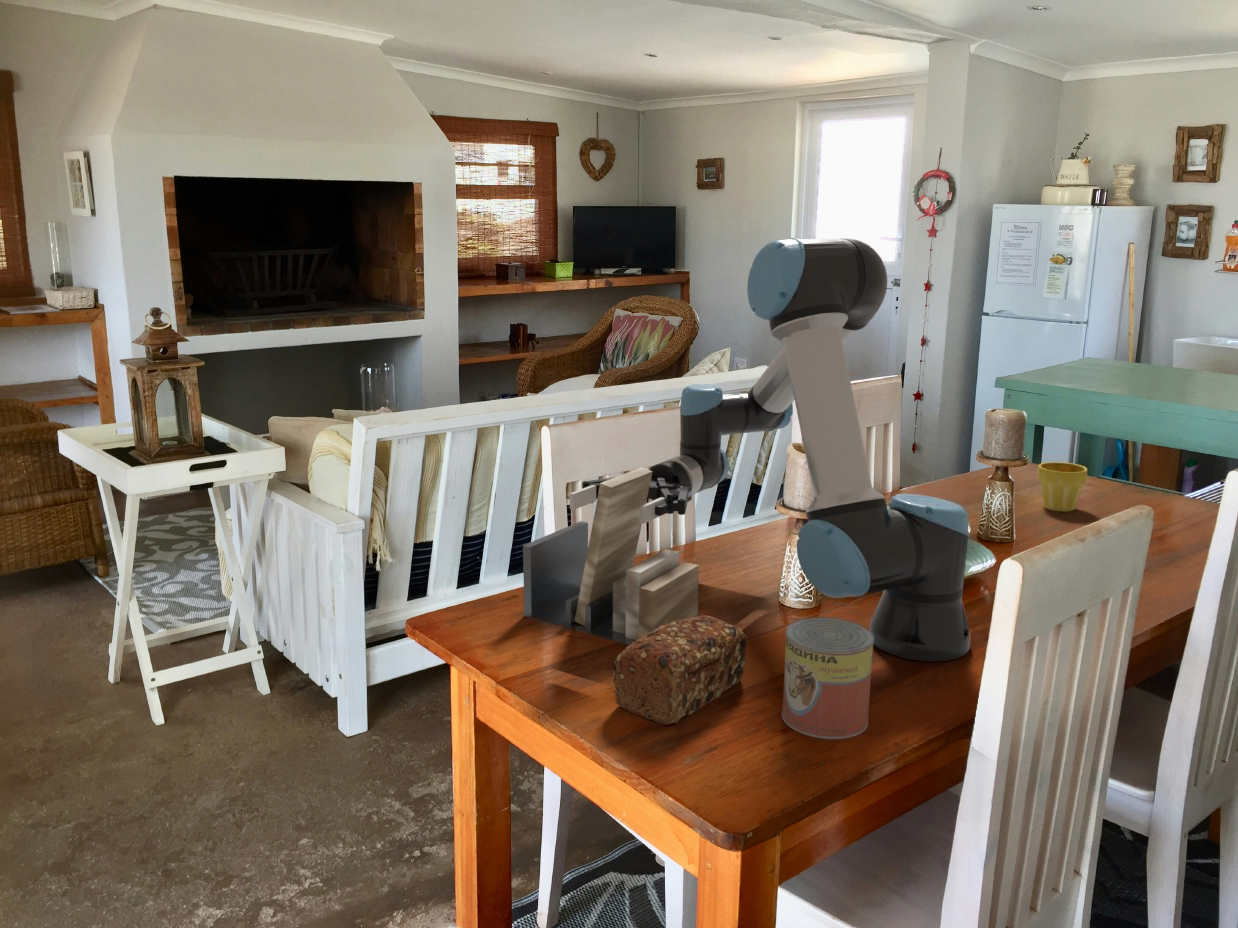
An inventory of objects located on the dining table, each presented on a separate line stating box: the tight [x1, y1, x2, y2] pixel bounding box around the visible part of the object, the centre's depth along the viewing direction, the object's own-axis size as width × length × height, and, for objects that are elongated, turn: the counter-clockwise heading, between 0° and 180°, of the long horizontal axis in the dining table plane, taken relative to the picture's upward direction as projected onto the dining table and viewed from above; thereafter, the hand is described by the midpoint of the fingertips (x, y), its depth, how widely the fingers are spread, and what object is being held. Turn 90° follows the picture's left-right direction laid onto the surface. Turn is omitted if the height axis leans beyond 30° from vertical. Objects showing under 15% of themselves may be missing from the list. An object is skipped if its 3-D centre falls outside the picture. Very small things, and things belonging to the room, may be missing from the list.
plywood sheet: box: [575, 467, 653, 626], centre depth 160 cm, size 2×12×24 cm, turn 147°
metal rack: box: [522, 521, 636, 646], centre depth 162 cm, size 25×16×14 cm, turn 57°
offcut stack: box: [613, 548, 700, 640], centre depth 158 cm, size 8×14×11 cm, turn 147°
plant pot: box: [1037, 461, 1088, 513], centre depth 230 cm, size 10×10×10 cm
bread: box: [612, 614, 748, 726], centre depth 139 cm, size 19×11×10 cm, turn 141°
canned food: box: [781, 616, 874, 740], centre depth 132 cm, size 11×11×12 cm
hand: (605, 508), depth 162 cm, fingers open, 13 cm apart
